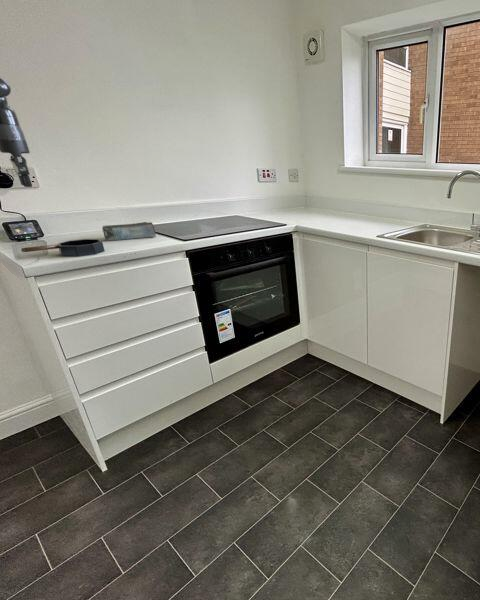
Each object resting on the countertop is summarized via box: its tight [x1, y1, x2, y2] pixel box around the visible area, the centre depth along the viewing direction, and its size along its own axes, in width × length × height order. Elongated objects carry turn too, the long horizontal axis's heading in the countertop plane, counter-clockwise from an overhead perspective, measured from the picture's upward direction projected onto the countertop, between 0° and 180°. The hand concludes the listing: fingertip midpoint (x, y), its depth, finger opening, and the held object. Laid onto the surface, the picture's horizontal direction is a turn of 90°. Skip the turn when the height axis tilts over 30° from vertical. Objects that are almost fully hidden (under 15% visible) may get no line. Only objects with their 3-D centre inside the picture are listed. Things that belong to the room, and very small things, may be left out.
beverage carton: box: [102, 221, 156, 242], centre depth 162 cm, size 8×19×7 cm, turn 127°
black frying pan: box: [20, 238, 106, 258], centre depth 132 cm, size 22×13×4 cm, turn 140°
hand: (27, 186), depth 131 cm, fingers open, 8 cm apart
